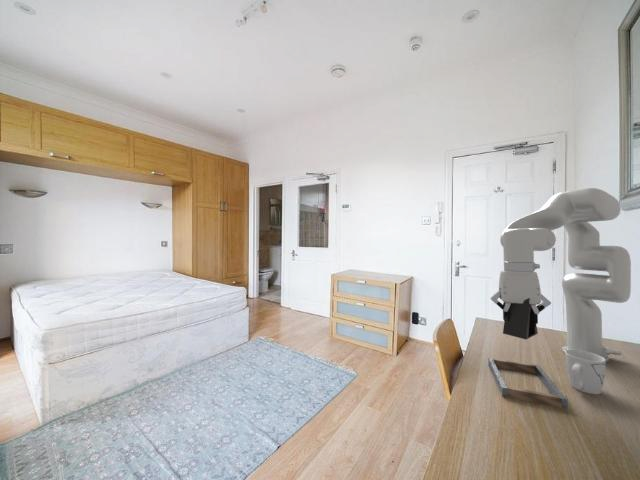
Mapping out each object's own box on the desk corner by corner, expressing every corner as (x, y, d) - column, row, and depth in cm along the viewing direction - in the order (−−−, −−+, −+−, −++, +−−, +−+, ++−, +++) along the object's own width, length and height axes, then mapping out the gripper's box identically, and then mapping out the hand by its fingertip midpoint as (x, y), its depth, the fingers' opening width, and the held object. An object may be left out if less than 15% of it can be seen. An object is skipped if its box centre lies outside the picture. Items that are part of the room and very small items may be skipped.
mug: (596, 403, 69) (595, 367, 69) (556, 388, 76) (555, 355, 76) (611, 391, 74) (610, 357, 74) (572, 378, 82) (571, 347, 82)
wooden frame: (538, 372, 85) (538, 365, 85) (567, 408, 67) (567, 399, 67) (488, 364, 91) (488, 357, 91) (502, 396, 73) (502, 387, 73)
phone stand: (525, 339, 75) (524, 299, 75) (502, 333, 80) (501, 295, 80) (537, 333, 79) (536, 295, 80) (515, 328, 85) (514, 292, 85)
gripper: (548, 267, 80) (550, 324, 79) (484, 265, 87) (485, 318, 87) (559, 269, 73) (560, 332, 73) (488, 267, 80) (490, 324, 80)
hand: (520, 323), depth 80 cm, fingers closed on phone stand, 5 cm apart
